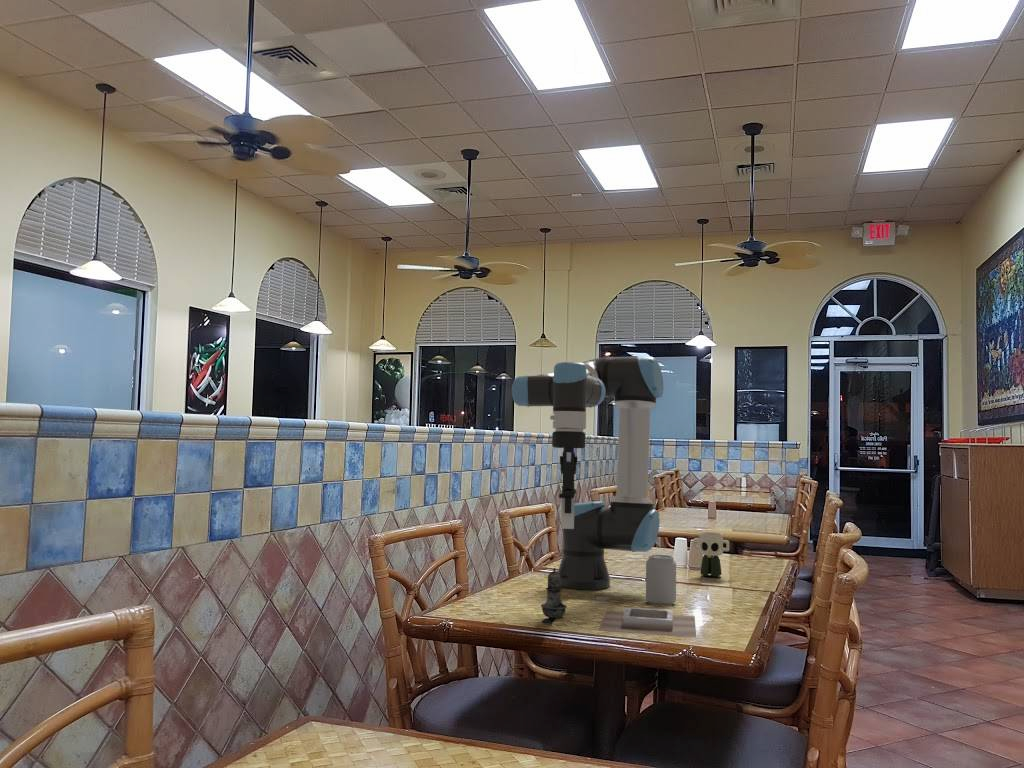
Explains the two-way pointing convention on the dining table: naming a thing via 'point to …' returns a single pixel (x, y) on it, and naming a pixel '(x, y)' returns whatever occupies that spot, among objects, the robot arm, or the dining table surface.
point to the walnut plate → (680, 628)
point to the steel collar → (648, 618)
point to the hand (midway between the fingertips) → (567, 525)
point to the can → (661, 580)
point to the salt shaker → (553, 599)
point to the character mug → (711, 552)
